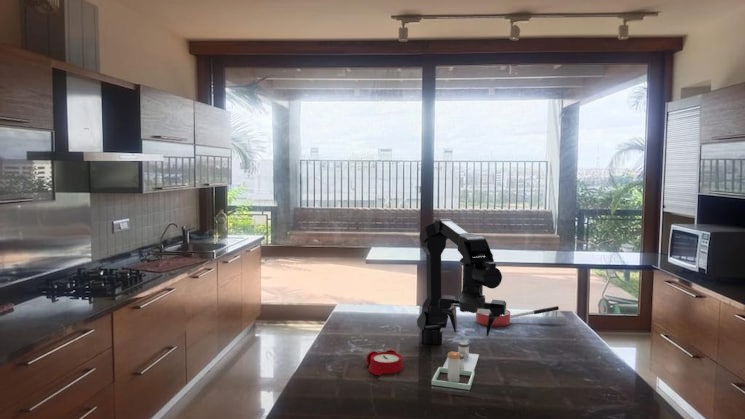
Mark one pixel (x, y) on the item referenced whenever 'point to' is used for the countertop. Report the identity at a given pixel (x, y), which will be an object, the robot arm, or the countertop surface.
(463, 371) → the tray
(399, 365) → the alarm clock
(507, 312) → the frying pan
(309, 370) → the countertop surface
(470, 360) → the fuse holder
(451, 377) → the cylinder
